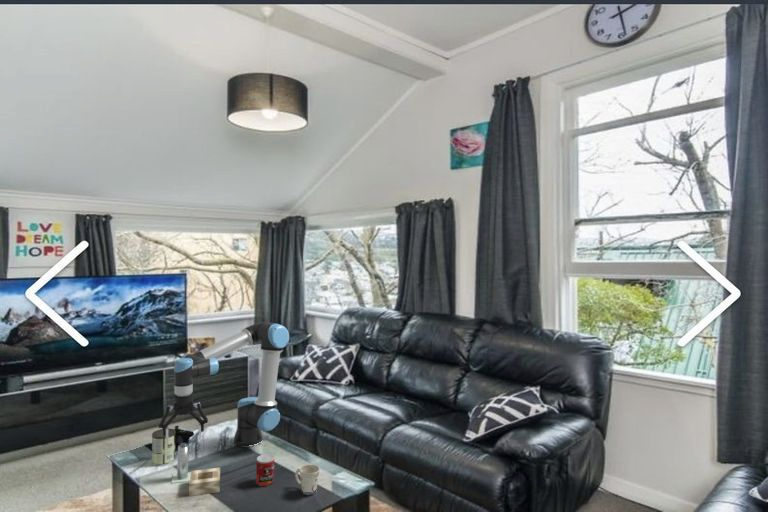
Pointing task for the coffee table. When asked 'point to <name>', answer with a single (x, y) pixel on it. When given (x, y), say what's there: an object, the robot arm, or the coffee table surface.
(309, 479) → the mug
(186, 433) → the controller
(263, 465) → the canned food
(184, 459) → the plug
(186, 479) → the pad
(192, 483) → the housing
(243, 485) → the coffee table surface
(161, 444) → the coffee can
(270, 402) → the robot arm
